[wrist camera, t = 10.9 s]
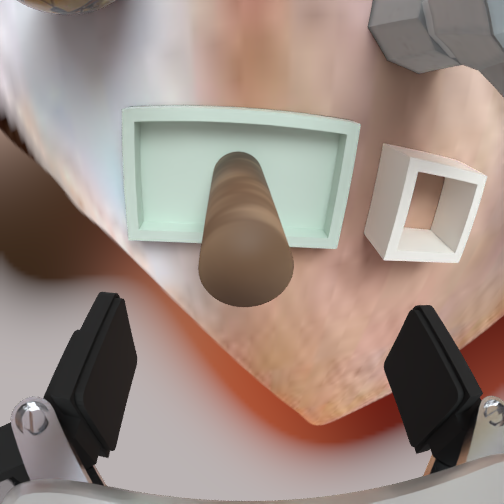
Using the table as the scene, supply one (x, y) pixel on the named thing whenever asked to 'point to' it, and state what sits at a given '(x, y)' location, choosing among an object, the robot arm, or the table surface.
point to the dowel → (243, 236)
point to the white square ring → (399, 198)
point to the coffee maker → (442, 35)
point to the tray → (226, 141)
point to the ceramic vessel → (67, 6)
